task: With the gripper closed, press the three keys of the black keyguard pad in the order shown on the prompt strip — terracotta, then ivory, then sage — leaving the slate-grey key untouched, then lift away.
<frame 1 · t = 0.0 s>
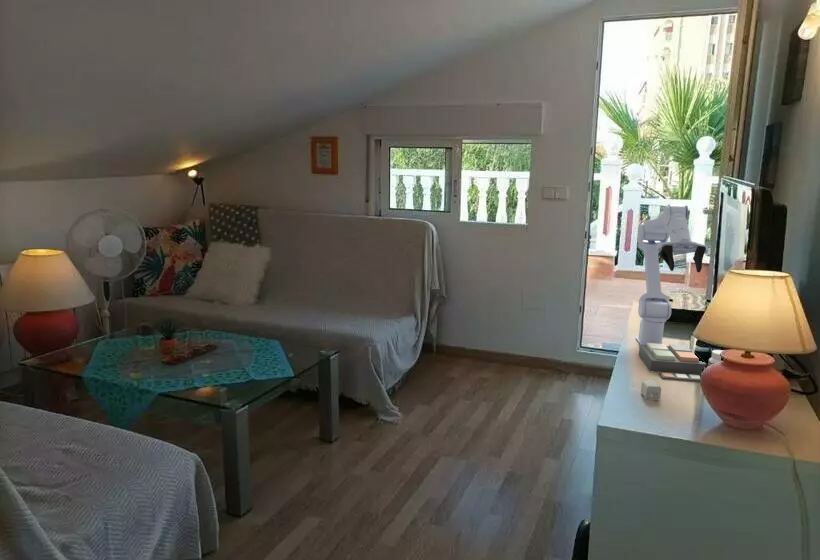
hand: (686, 269, 183), 32 cm above the table, tool tilted 50°, fingers open, 7 cm apart
ivory key: (657, 350, 199), point 3 cm above the table, slide at 0.0 cm
usb wall charger: (651, 399, 169), on the table
prompt strip: (681, 378, 185), on the table
keyguard pad: (670, 364, 196), on the table
terracotta key: (686, 359, 192), point 3 cm above the table, slide at 0.0 cm
sage key: (663, 357, 193), point 3 cm above the table, slide at 0.0 cm
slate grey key: (679, 351, 199), point 3 cm above the table, slide at 0.0 cm
pill bottle: (716, 384, 181), on the table
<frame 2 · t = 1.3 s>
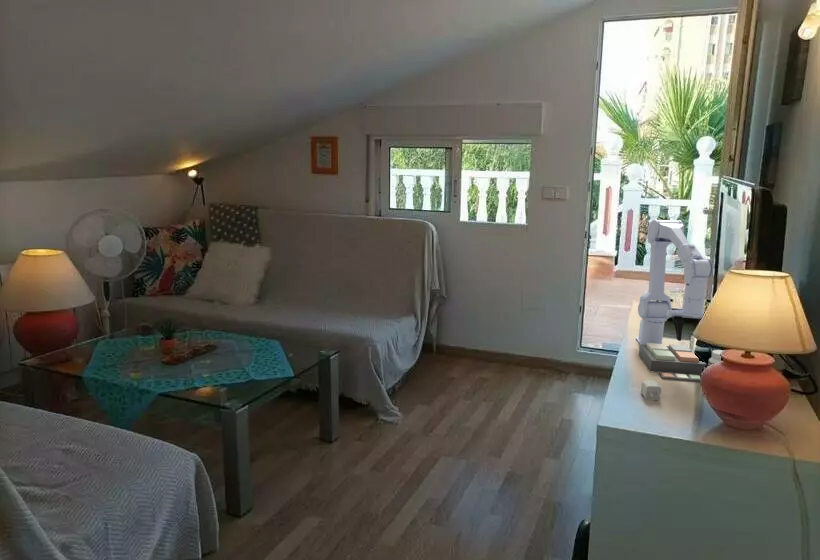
hand: (688, 340, 190), 9 cm above the table, tool pointing down, fingers open, 5 cm apart
nothing on the table moved.
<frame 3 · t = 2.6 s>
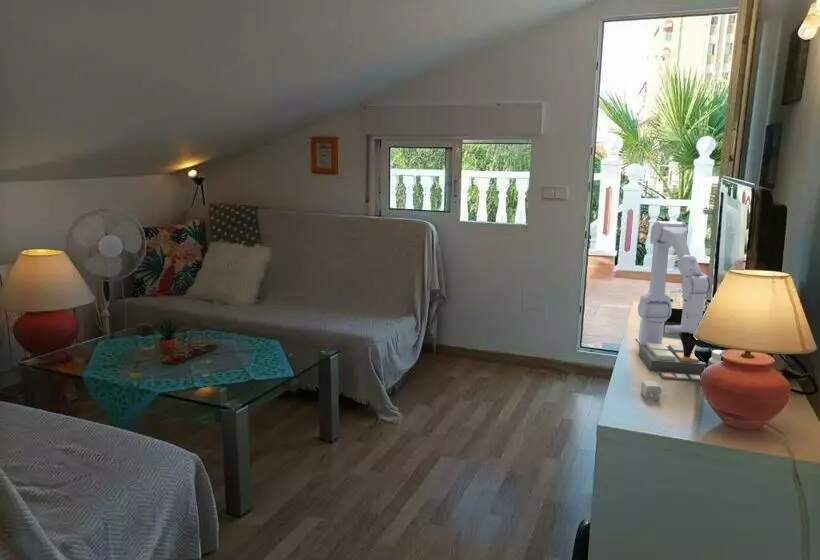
hand: (686, 355, 191), 4 cm above the table, tool pointing down, fingers closed, pressing on terracotta key
terracotta key: (686, 360, 192), point 3 cm above the table, slide at 0.4 cm, touching gripper
everything else where it was.
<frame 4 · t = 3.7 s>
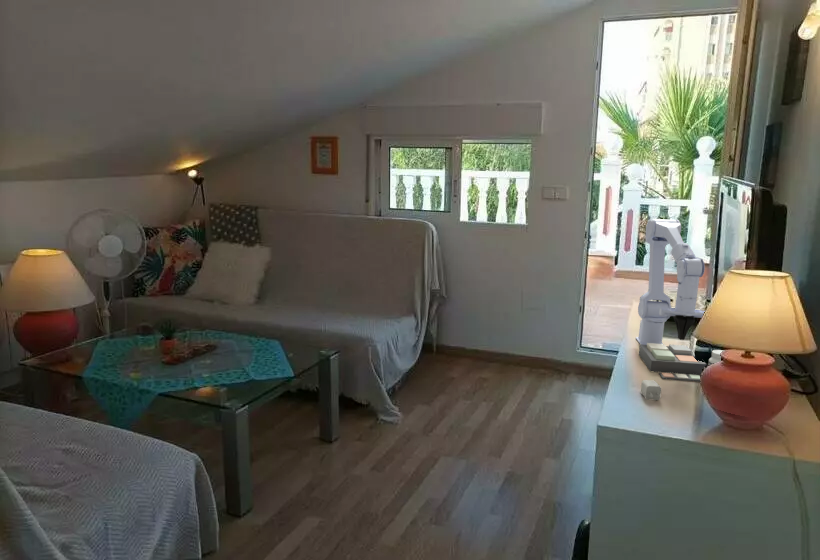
hand: (681, 338, 193), 9 cm above the table, tool pointing down, fingers closed
terracotta key: (685, 362, 192), point 2 cm above the table, slide at 1.2 cm
everything else where it was.
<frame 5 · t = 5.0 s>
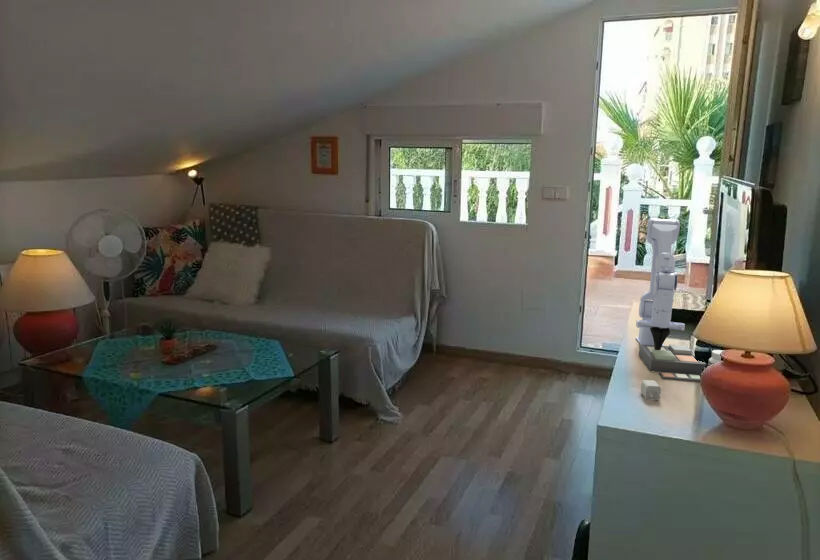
hand: (657, 349, 199), 4 cm above the table, tool pointing down, fingers closed, pressing on ivory key
ivory key: (656, 353, 200), point 2 cm above the table, slide at 1.2 cm, touching gripper
everything else where it was.
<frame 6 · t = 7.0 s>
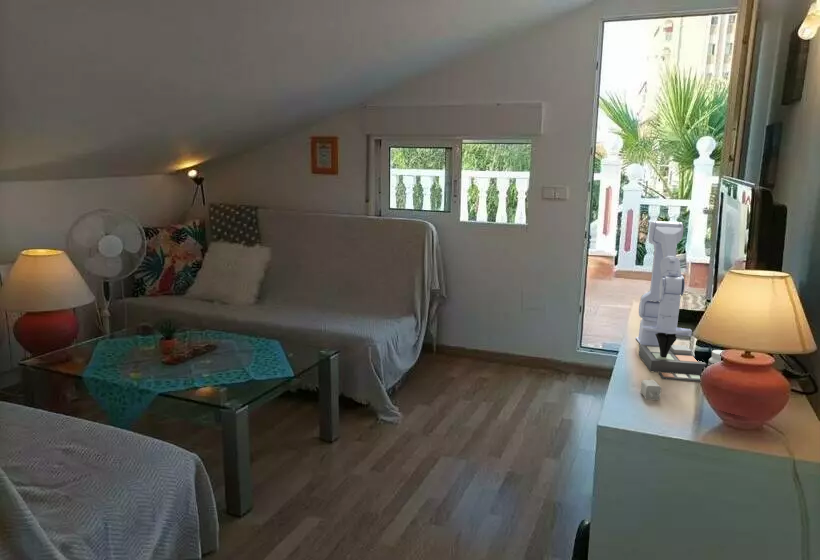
hand: (663, 356, 192), 4 cm above the table, tool pointing down, fingers closed, pressing on sage key
ivory key: (656, 353, 200), point 2 cm above the table, slide at 1.2 cm
sage key: (662, 360, 193), point 2 cm above the table, slide at 1.1 cm, touching gripper
everything else where it was.
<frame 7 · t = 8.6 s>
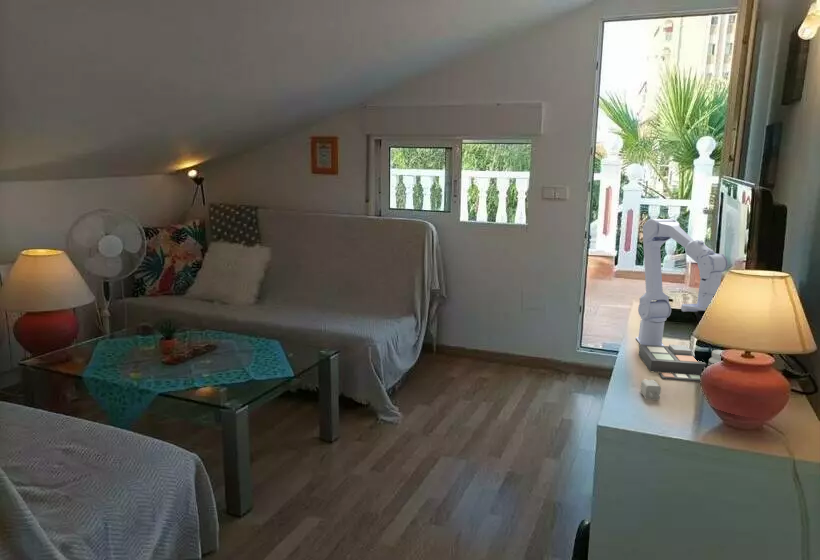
hand: (702, 334, 194), 10 cm above the table, tool pointing down, fingers closed
sage key: (662, 361, 193), point 2 cm above the table, slide at 1.2 cm
everything else where it was.
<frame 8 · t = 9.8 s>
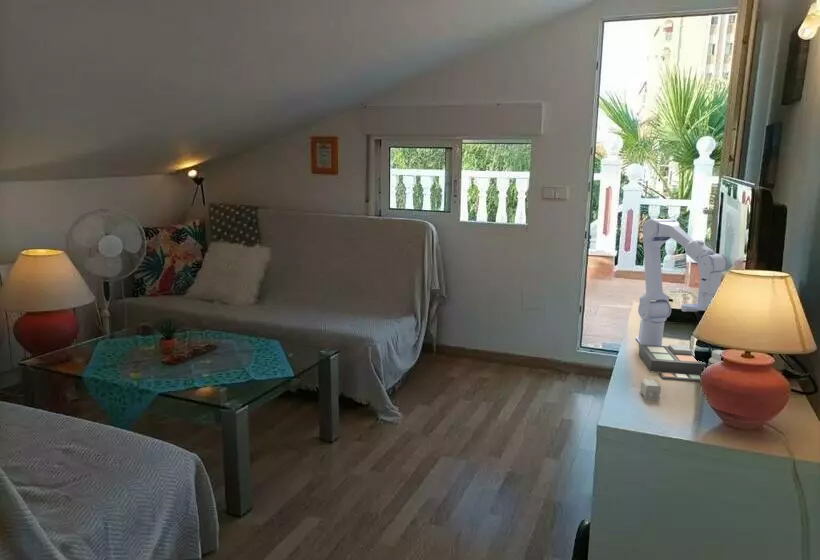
hand: (703, 334, 194), 10 cm above the table, tool pointing down, fingers closed
nothing on the table moved.
at the end: terracotta key slide at 1.2 cm; ivory key slide at 1.2 cm; sage key slide at 1.2 cm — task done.
